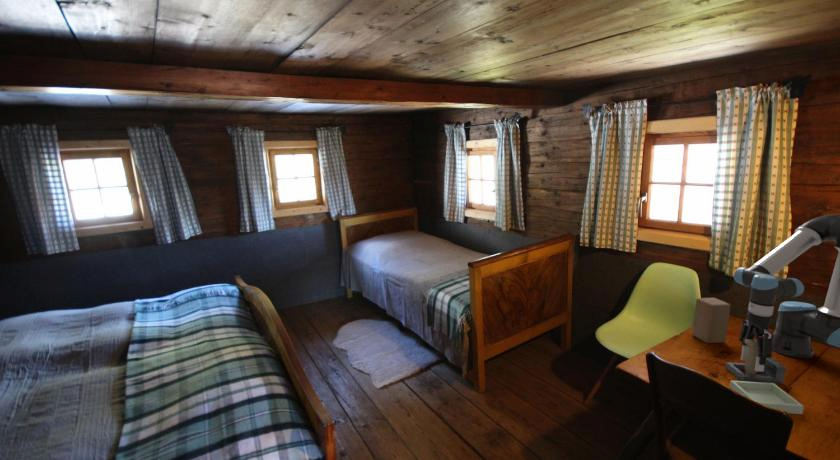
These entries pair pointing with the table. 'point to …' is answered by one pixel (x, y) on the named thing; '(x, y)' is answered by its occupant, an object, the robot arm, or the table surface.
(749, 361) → the handle
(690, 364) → the table surface
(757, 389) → the tray
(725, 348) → the table surface
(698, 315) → the wooden block
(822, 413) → the table surface
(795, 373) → the table surface
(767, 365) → the socket
